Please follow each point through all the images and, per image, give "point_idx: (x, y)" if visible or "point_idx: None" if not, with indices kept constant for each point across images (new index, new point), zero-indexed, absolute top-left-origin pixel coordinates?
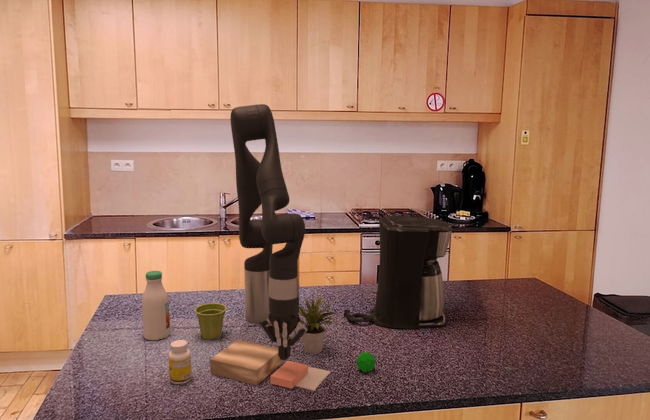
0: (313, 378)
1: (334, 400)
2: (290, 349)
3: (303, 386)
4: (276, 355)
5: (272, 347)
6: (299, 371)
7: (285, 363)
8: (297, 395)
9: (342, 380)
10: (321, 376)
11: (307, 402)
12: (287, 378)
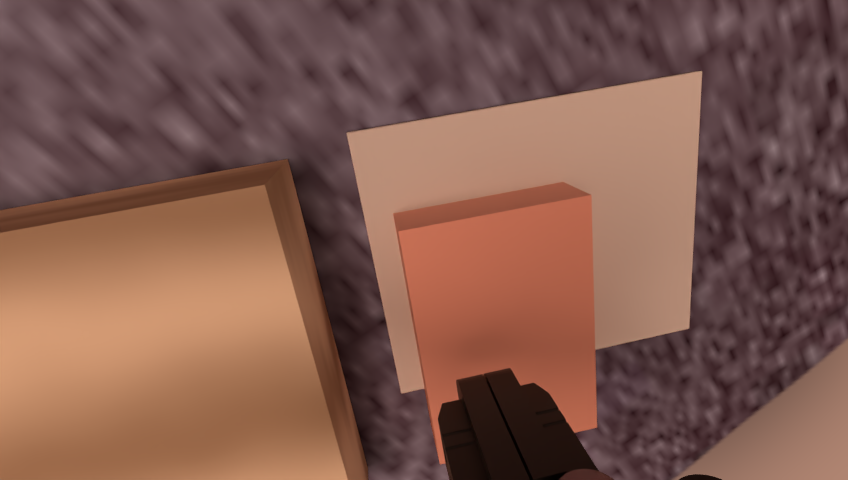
0: (632, 228)
1: (810, 330)
2: (575, 438)
3: (619, 338)
4: (300, 292)
5: (146, 218)
6: (579, 311)
7: (413, 279)
8: (621, 406)
9: (801, 121)
10: (670, 175)
11: (693, 419)
12: None
